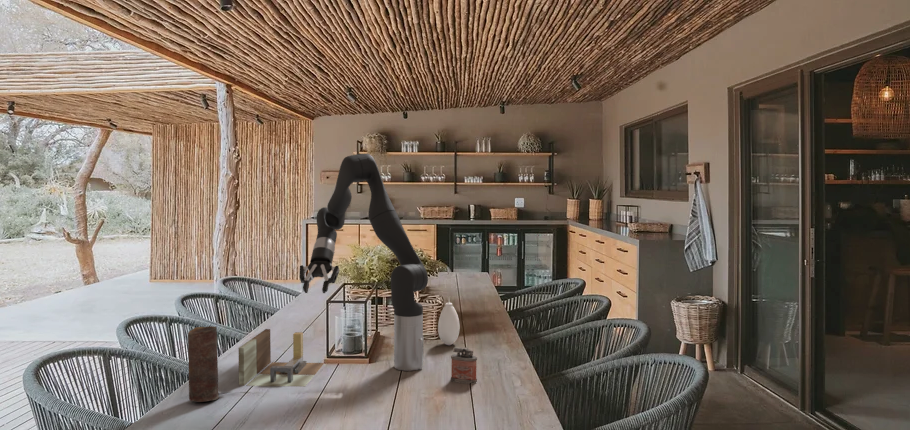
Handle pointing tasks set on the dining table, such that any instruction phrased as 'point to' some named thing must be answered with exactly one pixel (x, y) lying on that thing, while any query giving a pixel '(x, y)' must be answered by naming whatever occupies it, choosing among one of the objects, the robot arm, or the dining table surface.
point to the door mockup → (259, 356)
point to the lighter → (463, 366)
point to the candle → (203, 364)
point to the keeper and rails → (285, 369)
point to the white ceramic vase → (448, 324)
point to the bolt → (296, 351)
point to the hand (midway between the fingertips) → (314, 291)
